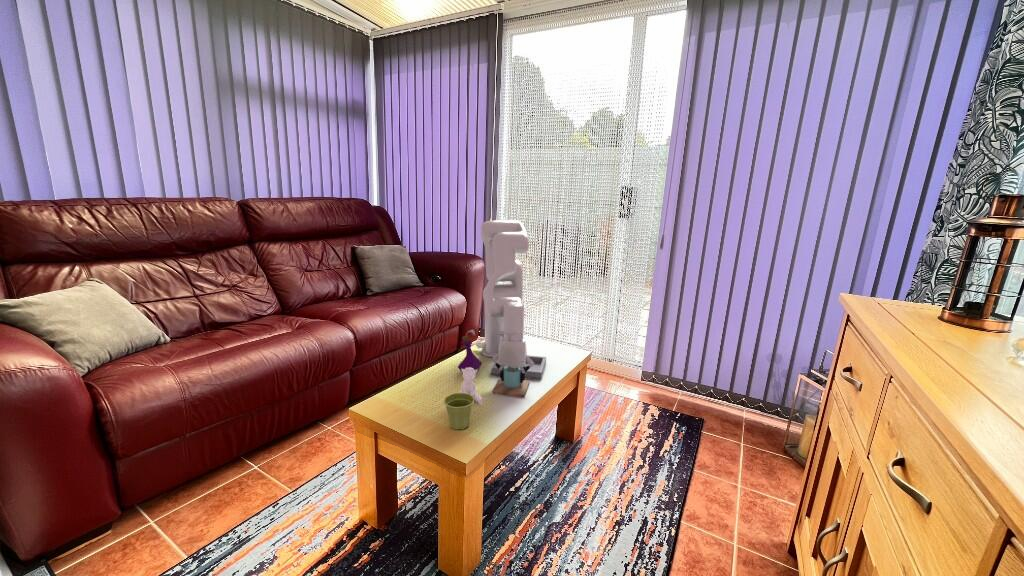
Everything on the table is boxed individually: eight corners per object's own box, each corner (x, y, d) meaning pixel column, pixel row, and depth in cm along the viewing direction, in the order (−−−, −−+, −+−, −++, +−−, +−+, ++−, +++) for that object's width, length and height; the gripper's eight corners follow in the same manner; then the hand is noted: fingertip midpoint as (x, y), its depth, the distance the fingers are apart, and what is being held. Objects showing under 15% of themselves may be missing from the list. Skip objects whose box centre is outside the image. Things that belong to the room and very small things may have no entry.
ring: (501, 386, 154) (502, 371, 153) (506, 377, 162) (506, 362, 161) (519, 388, 153) (519, 373, 152) (523, 379, 161) (523, 364, 159)
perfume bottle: (457, 374, 166) (456, 331, 162) (466, 367, 173) (465, 326, 169) (474, 377, 163) (473, 334, 159) (482, 370, 170) (482, 328, 166)
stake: (491, 394, 150) (491, 374, 149) (499, 379, 162) (499, 361, 160) (524, 397, 148) (524, 378, 146) (529, 383, 160) (530, 364, 158)
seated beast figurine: (455, 407, 141) (455, 374, 138) (454, 395, 149) (453, 364, 146) (483, 405, 143) (483, 372, 140) (480, 393, 151) (480, 362, 148)
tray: (491, 374, 166) (491, 367, 166) (500, 359, 182) (500, 352, 181) (541, 379, 163) (541, 372, 162) (546, 363, 178) (546, 357, 177)
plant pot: (442, 433, 125) (442, 407, 124) (445, 417, 135) (445, 392, 133) (473, 433, 126) (473, 407, 124) (474, 416, 135) (474, 392, 133)
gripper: (487, 337, 150) (487, 382, 154) (535, 341, 147) (533, 387, 151) (492, 330, 158) (492, 374, 162) (538, 334, 154) (536, 378, 158)
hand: (512, 380), depth 156 cm, fingers closed on ring, 6 cm apart
